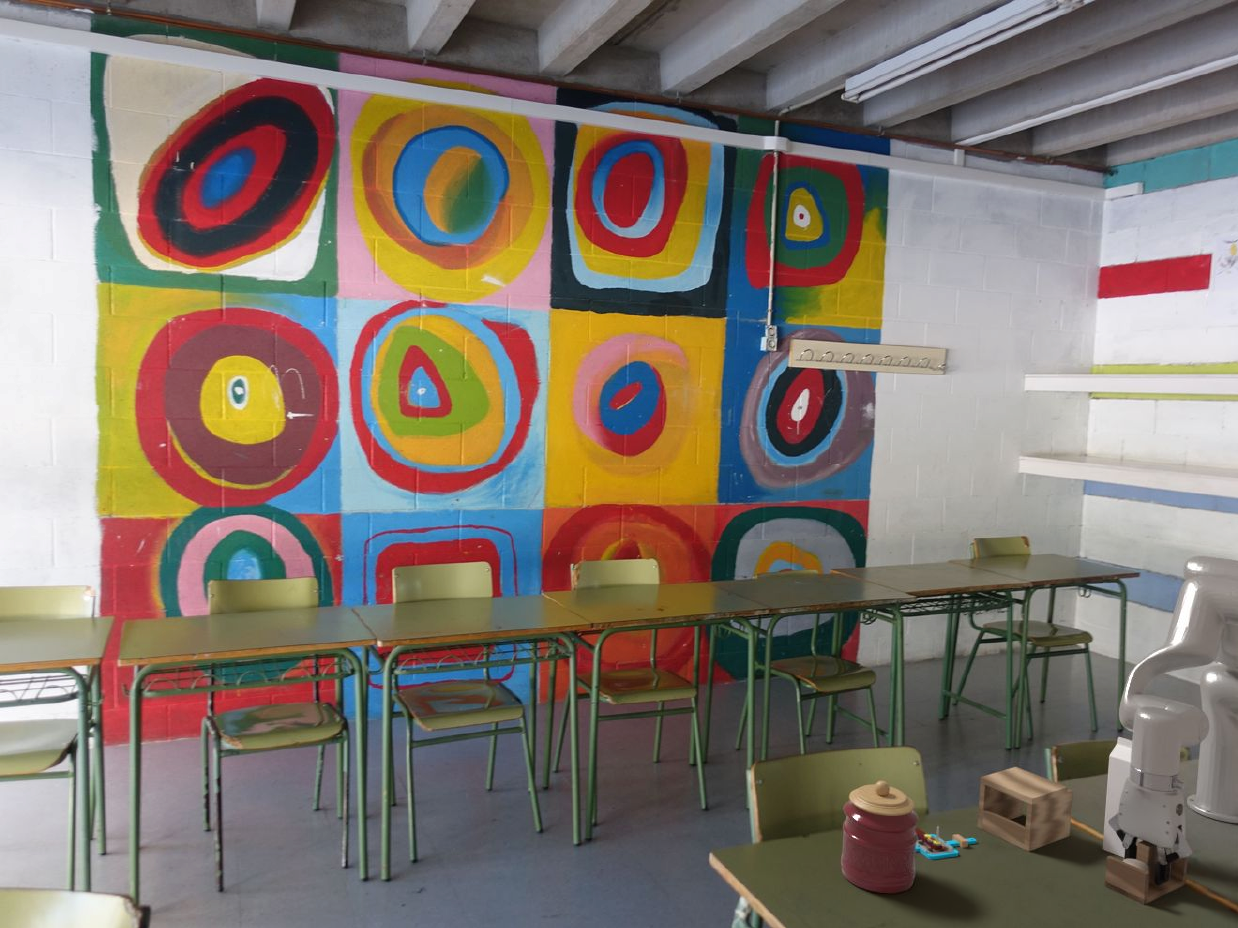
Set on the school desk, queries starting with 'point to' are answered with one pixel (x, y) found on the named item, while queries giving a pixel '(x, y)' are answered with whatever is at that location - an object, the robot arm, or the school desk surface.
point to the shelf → (1006, 801)
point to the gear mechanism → (940, 844)
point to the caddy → (1143, 874)
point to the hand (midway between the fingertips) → (1146, 874)
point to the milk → (1116, 792)
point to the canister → (879, 839)
